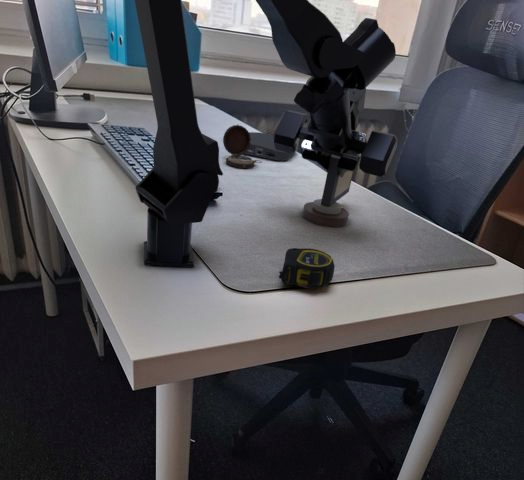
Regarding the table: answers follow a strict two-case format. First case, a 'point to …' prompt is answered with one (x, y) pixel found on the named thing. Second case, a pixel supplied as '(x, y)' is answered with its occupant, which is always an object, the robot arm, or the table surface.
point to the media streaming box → (266, 147)
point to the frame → (333, 189)
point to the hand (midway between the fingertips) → (336, 173)
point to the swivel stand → (325, 216)
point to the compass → (238, 147)
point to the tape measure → (307, 268)
